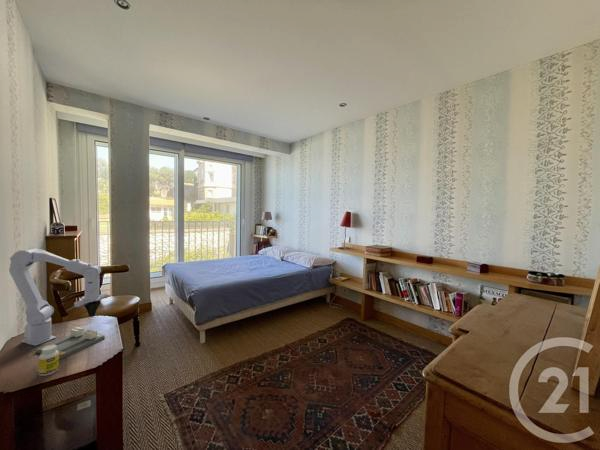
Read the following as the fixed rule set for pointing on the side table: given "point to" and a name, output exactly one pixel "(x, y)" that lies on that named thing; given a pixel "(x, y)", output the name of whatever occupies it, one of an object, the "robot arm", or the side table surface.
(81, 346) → the panel
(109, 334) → the side table surface
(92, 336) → the block
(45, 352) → the supplement bottle
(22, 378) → the side table surface
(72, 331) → the cream slider knob
